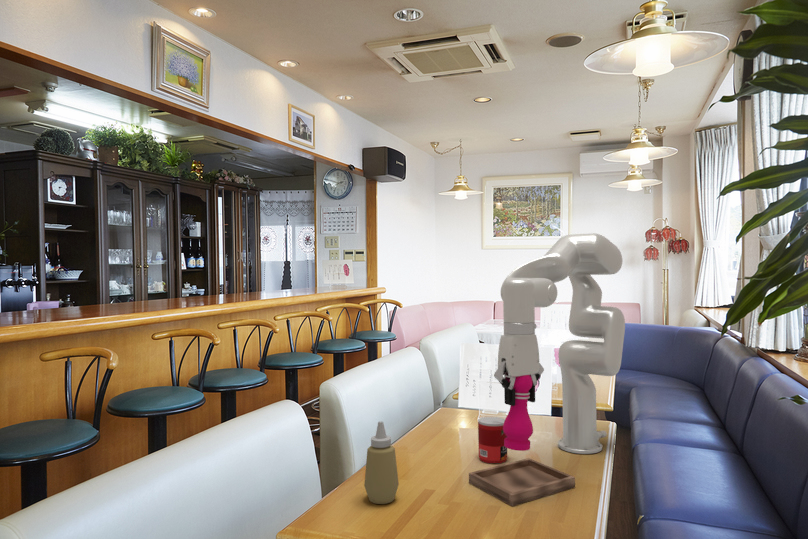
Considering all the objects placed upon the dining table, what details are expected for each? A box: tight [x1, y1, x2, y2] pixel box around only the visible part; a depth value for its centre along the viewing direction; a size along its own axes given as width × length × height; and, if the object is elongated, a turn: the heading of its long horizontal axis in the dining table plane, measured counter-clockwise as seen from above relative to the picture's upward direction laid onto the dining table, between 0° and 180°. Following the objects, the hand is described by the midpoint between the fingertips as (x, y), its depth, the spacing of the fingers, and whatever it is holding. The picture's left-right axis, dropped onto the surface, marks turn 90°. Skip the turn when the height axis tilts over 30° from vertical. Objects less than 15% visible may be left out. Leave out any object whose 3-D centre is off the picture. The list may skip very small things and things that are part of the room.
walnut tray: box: [468, 457, 576, 507], centre depth 135 cm, size 20×16×2 cm
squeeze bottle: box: [363, 421, 400, 505], centre depth 128 cm, size 8×8×18 cm
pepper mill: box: [503, 375, 534, 452], centre depth 135 cm, size 7×7×20 cm
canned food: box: [477, 416, 508, 465], centre depth 154 cm, size 8×8×11 cm
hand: (519, 402), depth 135 cm, fingers closed on pepper mill, 5 cm apart
